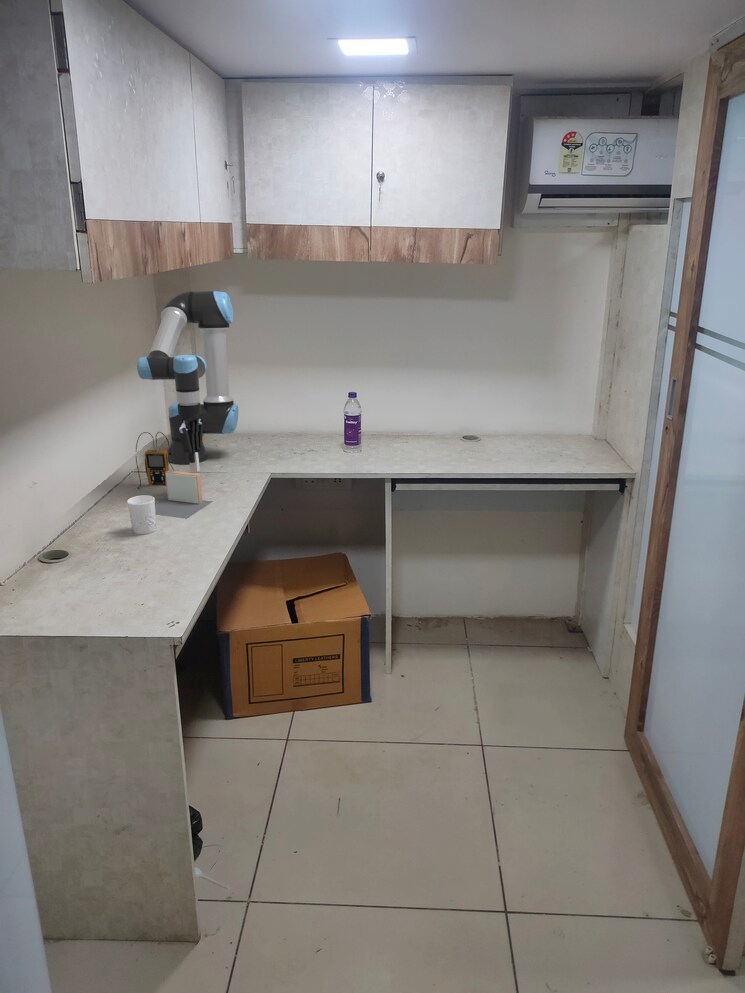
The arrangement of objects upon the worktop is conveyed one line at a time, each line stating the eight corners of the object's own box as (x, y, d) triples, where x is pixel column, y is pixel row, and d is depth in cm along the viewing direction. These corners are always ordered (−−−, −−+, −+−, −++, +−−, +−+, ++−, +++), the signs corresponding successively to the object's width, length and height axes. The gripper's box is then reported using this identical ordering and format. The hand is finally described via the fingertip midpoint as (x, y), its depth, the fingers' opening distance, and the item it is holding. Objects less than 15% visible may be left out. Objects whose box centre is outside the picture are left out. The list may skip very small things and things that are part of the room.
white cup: (127, 529, 219) (123, 499, 216) (151, 523, 224) (148, 493, 220) (137, 537, 213) (133, 506, 210) (162, 531, 218) (158, 500, 215)
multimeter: (131, 494, 249) (124, 438, 242) (141, 484, 258) (134, 430, 251) (173, 494, 248) (167, 439, 241) (181, 484, 258) (175, 431, 251)
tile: (171, 498, 243) (168, 470, 240) (202, 502, 240) (200, 473, 236) (167, 500, 241) (164, 472, 238) (198, 504, 238) (196, 475, 234)
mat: (166, 497, 246) (166, 495, 245) (212, 503, 240) (212, 501, 240) (138, 513, 231) (138, 512, 231) (187, 520, 226) (186, 518, 226)
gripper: (189, 398, 243) (195, 464, 251) (167, 406, 231) (174, 475, 239) (209, 399, 241) (214, 466, 249) (188, 408, 229) (194, 477, 237)
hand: (195, 470), depth 244 cm, fingers closed
